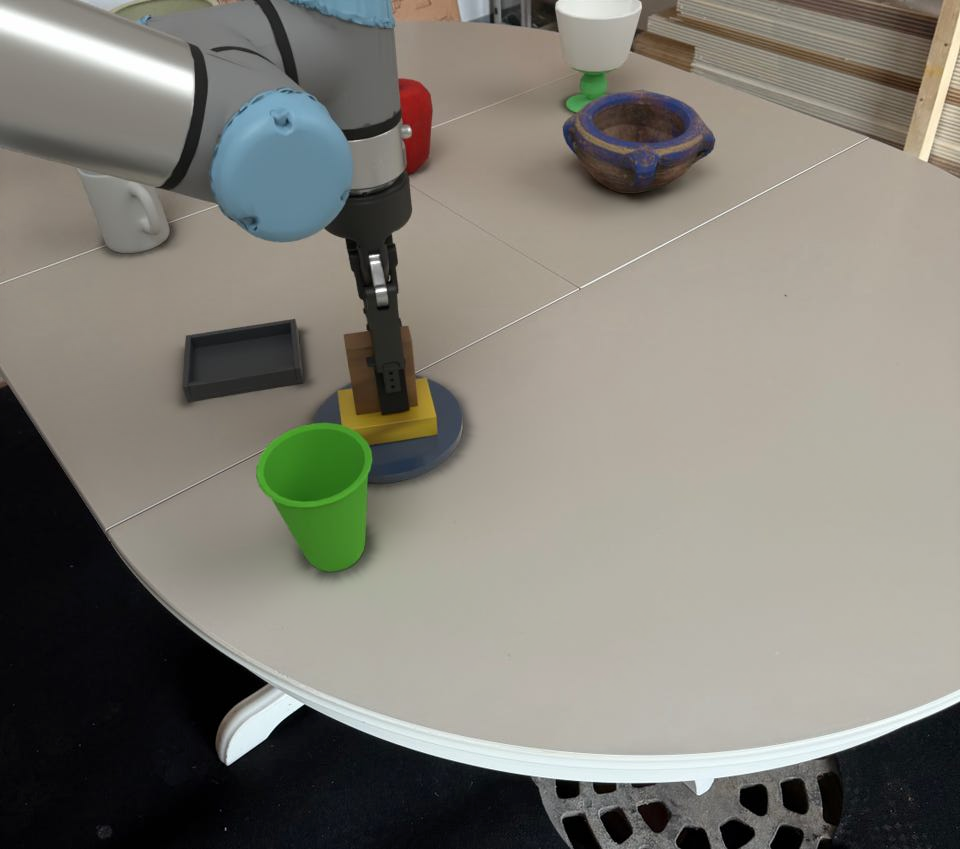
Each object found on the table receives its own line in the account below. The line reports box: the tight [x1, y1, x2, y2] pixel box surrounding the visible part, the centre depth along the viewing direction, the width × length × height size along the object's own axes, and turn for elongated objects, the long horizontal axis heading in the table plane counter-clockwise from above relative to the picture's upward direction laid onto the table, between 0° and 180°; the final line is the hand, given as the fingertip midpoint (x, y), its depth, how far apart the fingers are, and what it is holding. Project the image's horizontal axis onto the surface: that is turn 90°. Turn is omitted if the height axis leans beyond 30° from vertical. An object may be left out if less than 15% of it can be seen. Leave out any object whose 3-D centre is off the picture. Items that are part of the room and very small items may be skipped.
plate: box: [312, 374, 464, 484], centre depth 82 cm, size 15×15×1 cm
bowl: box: [562, 89, 716, 194], centre depth 116 cm, size 18×18×10 cm
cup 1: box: [255, 423, 372, 573], centre depth 68 cm, size 9×9×11 cm
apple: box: [398, 77, 434, 175], centre depth 120 cm, size 11×10×14 cm
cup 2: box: [554, 0, 643, 114], centre depth 134 cm, size 14×14×16 cm
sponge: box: [336, 325, 438, 445], centre depth 78 cm, size 9×6×10 cm, turn 102°
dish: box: [181, 318, 305, 403], centre depth 90 cm, size 12×9×2 cm
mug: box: [76, 167, 171, 254], centre depth 107 cm, size 12×8×11 cm
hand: (392, 399), depth 80 cm, fingers closed on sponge, 2 cm apart
